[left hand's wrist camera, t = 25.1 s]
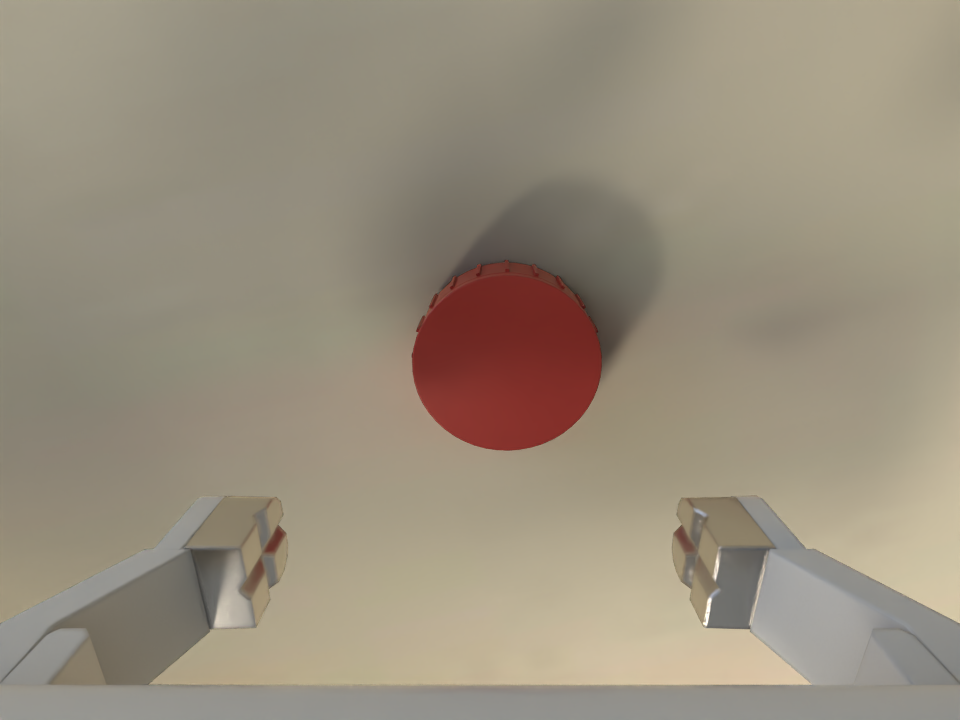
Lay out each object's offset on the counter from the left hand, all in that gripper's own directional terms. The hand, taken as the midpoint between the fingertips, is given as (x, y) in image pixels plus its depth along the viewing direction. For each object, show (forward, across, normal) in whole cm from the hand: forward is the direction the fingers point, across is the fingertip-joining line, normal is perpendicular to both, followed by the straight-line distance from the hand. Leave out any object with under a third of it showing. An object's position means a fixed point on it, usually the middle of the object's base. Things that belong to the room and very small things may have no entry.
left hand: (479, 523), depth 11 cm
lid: (+5, +1, +2) cm, 5 cm away
